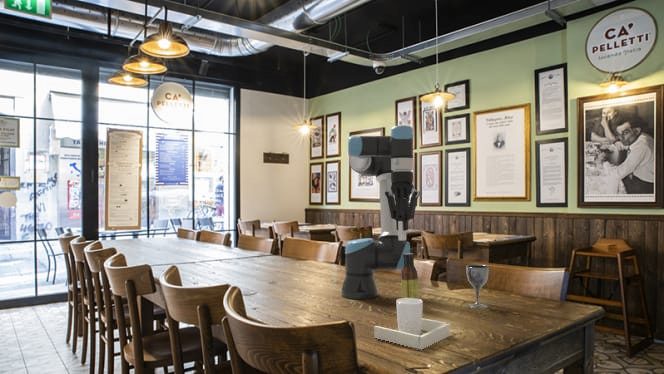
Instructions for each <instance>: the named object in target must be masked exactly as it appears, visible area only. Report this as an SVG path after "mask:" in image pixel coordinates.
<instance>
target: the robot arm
mask: <svg viewBox="0 0 664 374" xmlns="http://www.w3.org/2000/svg"><path fill="white" fill-rule="evenodd" d="M347 141H348V142H347V150H348V151H347V152H348V156H349V158H348V159H349V160H348V164H349V166H350V168H351V170H353V171H354V172H355V173H357V174H359V175H362V176H367V177H375V180H376V182H377V183H378V184H379V202H380V204H379V205H380V206H379V207H380V229H381V230H380V231H381V232H380V233H381V234H380V235H379V236H378V238H377V241H374V238H372V237H371V238H370V237H369V238H365V237H364V238H358V239H352V240H349V241H347V243H346V244H345V252H344V254H345V275H344V276H345V277H344V280H343V284H342V288H341V291H340V292H341V293H340V294H341V296H342V297H344V298H346V299H347V298H348V299H355V300H368V299H374V298H376V297H378V293H379V292H378V288H377V285H376V284H377V283H376V280H375V278H374V277H375V276H374V271H402V268H403V267H404V258H403V254H404V253H411V251H410V250H411V245H410V244H411V243H410V242H409V241H407V231H408V230H409V221H411V220H414V218H415V214H416V213H415V212H416V208H417V205H418V204H417V203H418V199H419V196H420V195H421V192H420V191H419V190H416V189H415V186H414V172H413V171H414V129H413V127H412V126H410V125H395V126H392V127H391V129H390V135H352V136H351V135H350V136H349V137H348V139H347ZM410 196H411V197H410Z"/></svg>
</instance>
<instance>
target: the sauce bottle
mask: <svg viewBox="0 0 664 374" xmlns="http://www.w3.org/2000/svg"><path fill="white" fill-rule="evenodd" d="M403 258H404V267H403V268H402V270H400V271H401V272H400V276H401V278H400V279H401V282H400V283H401V298H416V299H420V296H419V293H420V292H419V276H418V271H417V269H416V266H415V261H414V259H415V254H414V253H412V252H410V253H404V254H403Z"/></svg>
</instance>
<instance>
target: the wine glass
mask: <svg viewBox="0 0 664 374" xmlns="http://www.w3.org/2000/svg"><path fill="white" fill-rule="evenodd" d="M466 277H467V278H466V279H467V281H468V282H469V284H470V285H471V286H472V287H473V289H474V290H475V296H476V302H475V303H469V304H467V306H468V307H469V308H472V309H487V308H488V305H486V304H482V303H480V301H479V300H480V299H479V297H480V292H481V289H482V287H483V286H485V284H486V283H487V281H488V277H489V266H488V265H483V264H466Z"/></svg>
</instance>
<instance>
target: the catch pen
mask: <svg viewBox="0 0 664 374" xmlns="http://www.w3.org/2000/svg"><path fill="white" fill-rule="evenodd" d="M373 329H374V331H373V332H374V335H373V336H374V337H373V339H374V338H377V339H376V340H378V339H381V340H380V341H382V340H385V341H384V342H386V341H389V342H388V343H390V342H393V343H392V344H394V343H397V344H396V345H398V344H400V345H399V346H402V345H404V346H403V347H406V346H408V347H407V348H410V347H413V348H412V349H414V348H417V349H416V350H418V349H421V350H420V351H423V350H422V349H424V348H426V347H427V348H429V347H431V346H433V345H435V344H437V343H439V342H441V341H442V339H443V340H445V339H446V338H448V337H450V336H451V323H449V322H445V321H444V322H443V321H439V320H434V319H429V318H423V317H422V326H421V332H422V331H423V332H426V333H424V334H421V335H420V336H419V335H415V334H410V333H406V332H401V331H398V329H393V328H388V327H383V326H378V325H375V326H374V327H373ZM440 340H441V341H440ZM438 341H439V342H438ZM436 342H437V343H436ZM434 343H435V344H434ZM432 344H433V345H432ZM430 345H431V346H430ZM428 346H429V347H428ZM427 348H426V349H427ZM424 350H425V349H424Z"/></svg>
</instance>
